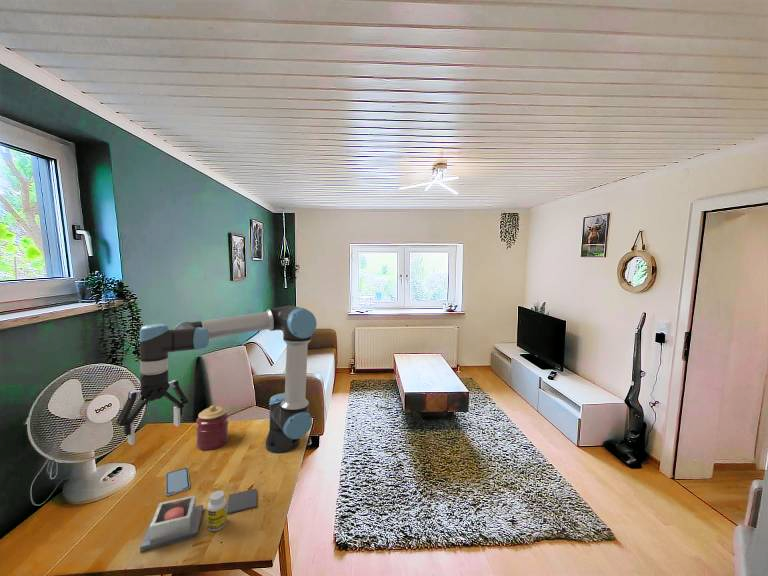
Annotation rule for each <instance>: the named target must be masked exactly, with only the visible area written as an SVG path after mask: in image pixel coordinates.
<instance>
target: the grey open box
mask: <svg viewBox="0 0 768 576" xmlns="http://www.w3.org/2000/svg"><path fill="white" fill-rule="evenodd" d="M176 507H182V508H183V509H184V516H183V517H180V518H175V519H171V520H167V521H164V516H165V514H166V513H167V512H168V511H169V510H171V509H173V508H176ZM203 512H204V504H200V505H197V497H196V494H194V495H189V496H186V497H181V498H176V499H172V500H166V501H162V502H159V503H158V505H157V508H156V511H155V513H154V515H153V516H152V517H151V520H150V523H149V525H148V527H147V529H146V532H145V534H144V537H143V539H142V542H141V544H140V547H139V552H140V553H142V552H145V551H150V550H154V549H157V548H161V547H165V546H169V545H173V544H176V543H180V542H183V541H188V540H192V539H195V538H198V535H199V531H200V526H201V521H202V517H203Z"/></svg>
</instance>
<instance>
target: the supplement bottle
mask: <svg viewBox="0 0 768 576" xmlns="http://www.w3.org/2000/svg"><path fill="white" fill-rule="evenodd" d="M206 508H207V509H206V510H207V511H206V514H207V516H206V517H207V518H206V520H207V521H206V525H207V529H208V530H209V531H211V532H215V531H219V530H221V529H222V528H224V527H225V526H226V524H227V518H228V517H227V515H228V514H227V508H228V500H227V498H226V497H225V492H224V491H223V490H216V491H214V492H212V493H211V494H210V496H209V502H208V503H207V507H206Z"/></svg>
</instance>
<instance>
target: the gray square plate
mask: <svg viewBox="0 0 768 576" xmlns="http://www.w3.org/2000/svg"><path fill="white" fill-rule="evenodd" d="M254 507H255V508H257V488H252V489H247V490H243V491H239V492H235V493H229V494H228V500H227V515H230V514H234V513H239V512H243V511H246V510H250V509H254Z"/></svg>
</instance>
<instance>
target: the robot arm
mask: <svg viewBox="0 0 768 576" xmlns="http://www.w3.org/2000/svg"><path fill="white" fill-rule="evenodd" d="M316 328H317V318H316V317H315V315H314V314H313V312H312V311H310V310H309V309H307V308H304V307H301V306H300V307H299V306H296V305H285V306H281V307H275V308H267V310H266V311H264V312H257V313H250V314H242V315H234V316H228V317H227V316H226V317H221V318H215V319H214V318H213V319H208V320H207V319H206V320H200V321H191V322H190V321H182V322H179V323H178V324H177V325H176V326H175V327H174V329H169V326H168V325H167V324H164V323H154V324H153V323H152V324H146V325H143V326H141V328H140V330H139V369H140V370H139V372H140V373H141V374H140V375H139V379H140V381H139V384H140V389H139V390H136V391H133V390H129V392H128V395H127V399H126V402H125V404H124V405H123V408H122V409H121V411H120V413H119V415H118V418H117V419H116V421H115V423H116V425H118V426H120V427H122V426H123V434H124V435H125V436H127V444H129V445H131V446H134V445H135V444H136V442H135V441H136V440H135V436H136V435H135V423H134V420H135V419H136V418H137V416H138V415H139V414H140V413H141V411H142V410H143V408H144V407H145V406H147V404H149V402H154V401H155V400H160V399H162V398H163V397H164V398H165V399H167V400H168V401H169V402H171V403H173V404H174V405H175V406H173V425H174V426H176V427H177V428H179V427H181V416H183V408H185V404H188V403H189V399H188V398H187V397H186V395H185V393H184V392H183V390H182V388H181V387H180V384H179V382H180V381H178V380H176V379H171V380H170V381H169V370H168V369H169V353H174V352H184V351H193V350H194V351H195V350H200V349H201V350H202V349H206V348H208V346H209V343H210V340H211V339H217V338H218V339H219V338H222V337H229V336H235V335H241V334H247V333H252V332H260V331H264V330H269V331H270V332H273V331H282V332H283V333H282V337H283V342H284V343H285V344H286V354H285V356H286V358H285V360H286V361H285V375H284V376H285V377H284V378H285V381H284V392H282V393H277V394H275V395H272V396H271V397H270V399H269V404H268V405H269V430H268V433H267V436H266V439H265V445H264V447H265V450H267V451H268V452H270V453H277V454H280V453H281V452H283V453H287V452H290V451H292V450H291V449H293V450H294V449H296V448H297V447H298V446H299V445H300V442H301V441H300V439H301V438H304V437H305V435H307V433H309V431H310V430H311V428H312V427H313V419H312V416H311V414H310V413H309V409H310V408H309V407H310V402H309V400H308V399H307V398H306V391H307V370H308V369H307V368H308V367H307V366H308V347H309V346H308V344H309V343H310V342H311V341H312V339H313V337H312V336H313V334H314V333H315V332H316ZM169 388H172V390H173V392H174V393H175V394H176V396H177V397H178V399H177V398H175V397H174V396H173V395H172V394H171V393H170V392H168V390H169ZM139 396H140V397H139ZM137 399H138V401H137ZM179 400H180V401H179ZM136 401H137V402H136ZM135 403H136V404H135ZM298 444H299V445H298ZM295 447H296V448H295ZM289 450H290V451H289ZM286 451H287V452H286ZM281 454H282V453H281Z"/></svg>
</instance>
